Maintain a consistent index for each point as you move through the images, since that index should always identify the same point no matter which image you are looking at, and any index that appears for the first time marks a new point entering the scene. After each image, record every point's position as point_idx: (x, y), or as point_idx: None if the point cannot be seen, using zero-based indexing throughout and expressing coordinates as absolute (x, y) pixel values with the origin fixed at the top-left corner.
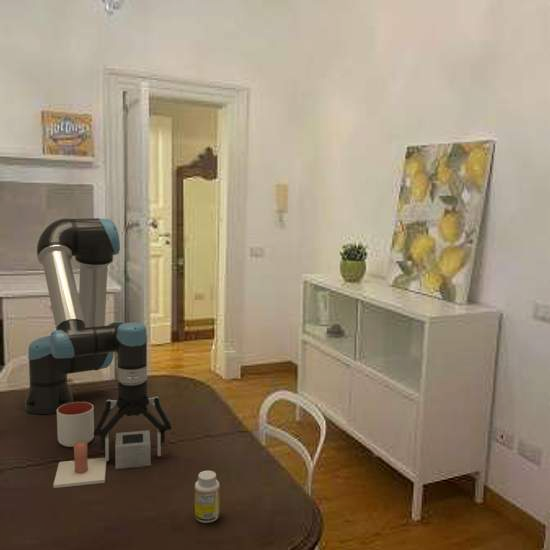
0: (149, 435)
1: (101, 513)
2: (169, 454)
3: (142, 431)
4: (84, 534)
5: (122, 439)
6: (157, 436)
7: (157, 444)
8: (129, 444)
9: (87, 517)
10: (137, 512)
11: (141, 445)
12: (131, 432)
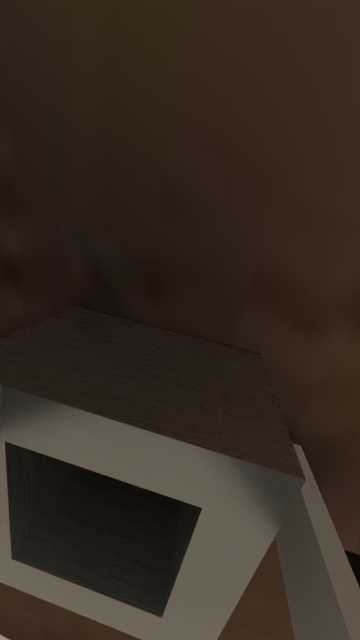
0: (252, 572)
1: (32, 595)
2: (345, 447)
3: (213, 467)
4: (5, 621)
5: (7, 506)
6: (316, 632)
7: (292, 525)
8: (58, 588)
9: (4, 589)
10: (111, 635)
11: (138, 636)
12: (90, 429)
